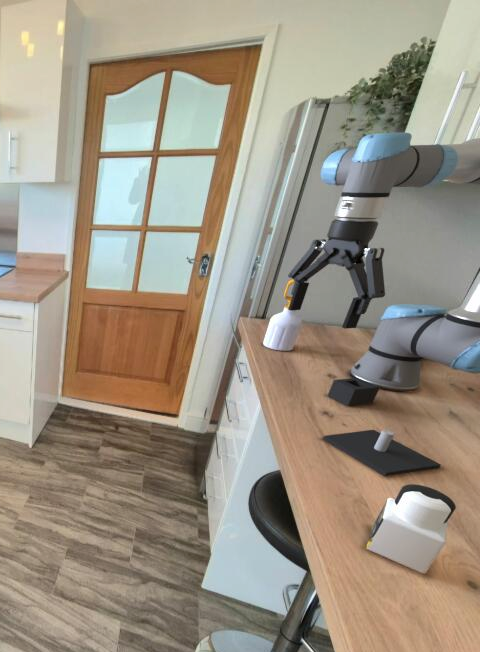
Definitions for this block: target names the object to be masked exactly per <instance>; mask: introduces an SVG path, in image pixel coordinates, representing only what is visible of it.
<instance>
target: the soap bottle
mask: <svg viewBox="0 0 480 652" xmlns="http://www.w3.org/2000/svg"><path fill="white" fill-rule="evenodd" d="M294 283H295V282H294V279H291V280H289V281H288V282H287V284H286V287H285V290H284V292H283V296H284V299H285V300H286V301H287V302H288V304H286V305H284V308H283V310H282V311H281V312H278V313H275V314H274V315H272V316H271V318H270V320H269V323H268V325H267V330H266V332H265V335H264V338H263V342H262V345H263V346H264V347H266V348H268V349H271V350H274V351H279V352H290V351H293V350H294V347H295V344H296V341H297V338H298V335H299V332H300V330H301V327H302V324H303V322H302V319H301V318H300V316H298V315H297V314H296V312H297V310H292V311H290V310H288V308H289V305H290V302H291V299H292V296H289V295H287V294H288V291H289V288H290V286H291V285H292V284H294Z"/></svg>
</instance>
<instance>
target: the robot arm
mask: <svg viewBox="0 0 480 652" xmlns="http://www.w3.org/2000/svg"><path fill="white" fill-rule="evenodd" d="M412 136H413V135H412V134H411V133H410V132H382V133H381V132H380V133H370V134H367V135H365V136H363V137H362V138H361V139H360V140H359V143H358V145H357V148H350V147H349V148H346V149H339V150H336V151H334V152H332V153H330V154H329V155H328V157H327V158H326V159H325V160H324V161H323V164H322V167H321V170H320V177H321V181H322V182H323V183H325V184H326V185H331V186H336V187H338V186H343V188H342V192H341V194H340V197H339V200H338V202H337V205H336V208H335V212H334V217H335V219H333V220H331V222H330V225H329V229H328V231H327V234H326V237H327V238H328V239H327V240H326V239H324V238H322V239H321V238H320V239H313V240H312V242H311V244H310V245H309V247H308V250H307V251H306V252H305V254H304V255H303V256H302V257H301V258H300V260H299V261H298V262H297V263H296V264H295V265H294V267H293V268H292V269H291V270H290V272H289V273H288V274H287V276H288V278H290V279H291V280H293V279H294V282H295V283H293V286H292V289H291V292H290V295H291V297H292V299H291V302H290V305H289V308H288V310H290V311H292V310H296V311H301V308H302V306H303V303H304V300H305V297H306V294H307V292H308V288H309V286H310V282H308V281H309V280H310V279H311V278H312V277H313V276H315V275H316V274H317V273H319V272H321V271H322V270H323V269H324V268H326V267H327V266H329V265H335V266H338V267H342V268H343V267H345V269H346V270H347V272H348V274H349V275H350V279H351V281H352V284H353V286H354V289H355V292H356V294H357V297H356V296H355V297H352V300H351V303H350V305H349V307H348V311H347V313H346V316H345V318H344V321H343V324H342V326H341V328H342V329H357V326H358V323H359V321H360V318H361V317H362V315H365V314H366V312H367V310H368V308H369V306H370V303H371V301H372V300H373V299H379V298H380V299H381V298H384V297H385V296H386V290H385V289H386V288H385V276H384V268H383V267H384V266H383V257H384V254H385V248H384V247H371V248H370V247H369V243H370V242H371V241H372V240H373V239H374V237H375V234H376V232H377V228H378V227H379V222H378V221H377V220H379V219H381V218H382V217H383V214H384V211H385V208H386V205H387V203H388V201H389V197H390V195H391V193H392V189H393V188H420V189H421V188H423V187H431V186H436V185H438V184H439V183H442V182H443V181H448V183H452V184H457V185H459V184H460V185H461V184H468V185H469V184H470V185H479V186H480V137H478V138H477V137H476V138H471V139H468V140H465V141H463V142H461V143H453V144H451V143H449V144H440V143H436V144H411V141H412ZM323 251H324V252H323ZM322 252H323V254H322V255H320V254H321V253H322ZM364 259H365V261H364ZM425 359H426V360H429V361H431V362H434V363H438V364H441V365H443V366H447V367H448V368H451V369H453V370H455V371H456V370H459V371H461V372H465V373H468V374H474V375H475V374H476V375H477V374H480V271H479V272H478V274H477V275H476V277H475V279H474V280H473V283H472V284H471V287H470V288H469V290H468V293H466V295H465V298H464V299H463V301H462V303H461V305H459V306H458V307H456V308H454V309H451V310H448V311H447V309H446V308H445V307H442V306H437V305H429V304H416V303H399V304H397V303H396V304H392V305H390V306H388V307H387V308H386V309H385V311H384V313H383V315H382V316H381V318H380V321H379V323H378V326H377V328H376V331H375V332H374V335H373V337H372V340H371V341H370V344H369V347H368V349H367V351H366V352H365V353H364V354H363V355H362V356H361V357H360V358H359V360H358V361H357V362H355V364H353V366H352V367H351V369H350V371H349V375H350V376H351V378H360V379H362V380H365V381H367V382H369V383H372V384H374V385H376V386H379V387H380V388H379V389H381V390H385V391H393V392H403V393H405V392H406V393H408V392H414V391H416V390H417V389H418V387H419V385H420V383H421V364H422V363H421V362H422V360H425Z"/></svg>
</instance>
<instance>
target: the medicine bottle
mask: <svg viewBox="0 0 480 652" xmlns="http://www.w3.org/2000/svg"><path fill="white" fill-rule="evenodd" d="M456 508H457V506H456V504H455V502H454V501H453V499H452V498H451V497H449V496H448V495H446V494H445V493H443V492H441V491H439V490H437V489H435V488H432V487H429V486H426V485H422V484H416V483H412V484H411V483H410V484H406V485H403V486H401V489H400V490H399V492H398V494H397V495H396V497H395V498H392V497H388V498H387V499H386V501H385V503H384V505H383V507H382V508H381V510H380V512H379V514H378V516H377V518H376V519H375V521H374V523H373V524H372V527H371V530H370V534H369V537H368V540H367V544H366V549H367V550H368V551H370V552H372V553H375V554H377V555H379V556H382V557H383V558H386V559H388V560H390V561H392V562H395V563H396V564H400V565H401V566H404V567H407V568H409V569H411V570H412V571H415V572H418V573H420V574H422V575H423V574H424V575H425V574H426V573H427V572H428V570H429V569H430V568H431V566H432V565H433V563H434V562H435V560H436V558H437V556H438V555H439V554H440V552H441V550H442V549H443V548H444V546H445V544H446V543H447V532H448V522H449V520H450V518H451V516H452V515H453V513H454V512H455V511H456Z"/></svg>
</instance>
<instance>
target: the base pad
mask: <svg viewBox="0 0 480 652" xmlns="http://www.w3.org/2000/svg"><path fill="white" fill-rule="evenodd" d="M394 436H395V433H394V432H393V431H392V430H391V431H390V430H387V429H383V430H382V431H381V432H379V431H377V430H375V429H368V430H359V431H352V432H344V433H343V432H342V433H336V434H328V435H324V436H323V438H322V440H323V441H325V442H327V443H328V444H330V445H331V446H333V447H335V448H336V449H338V450H340V451H341V452H342V453H343V452H344V453H345V454H347V455H348V456H350V457H352V458H353V459H355V460H356V461H358V462H360V463H362V464H363V465H365V466H366V467H368V468H370V469H372V470H373V471H375V472H376V473H378V474H380V475H382V476H383V477H392V476H398V475H405V474H410V473H417V472H424V471H430V470H437V469H440V468H441V466H442V464H441V463H439V462H437V461H435V460H433V459H431V458H430V457H427V456H426V455H424V454H421V453H420V452H418V451H416V450H415V449H412V448H410V447H408V446H407V445H404V444H402V443H400V442H398V441H396V440H394V439H393V438H394Z"/></svg>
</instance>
